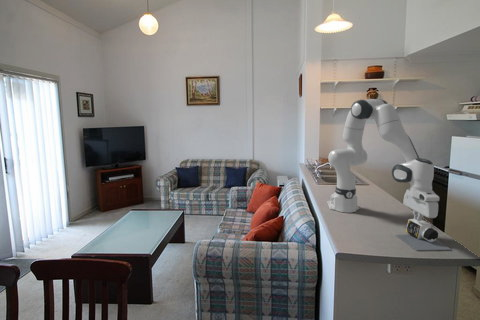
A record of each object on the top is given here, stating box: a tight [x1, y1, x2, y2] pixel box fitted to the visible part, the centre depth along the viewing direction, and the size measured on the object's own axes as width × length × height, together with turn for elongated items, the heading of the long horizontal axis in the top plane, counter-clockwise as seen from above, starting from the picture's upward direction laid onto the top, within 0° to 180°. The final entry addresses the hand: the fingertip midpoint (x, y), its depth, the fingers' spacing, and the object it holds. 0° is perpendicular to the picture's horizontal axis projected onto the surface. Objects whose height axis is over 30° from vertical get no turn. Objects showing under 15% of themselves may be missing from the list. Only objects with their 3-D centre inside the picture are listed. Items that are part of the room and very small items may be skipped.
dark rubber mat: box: [395, 234, 452, 252], centre depth 134 cm, size 16×16×1 cm
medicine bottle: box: [405, 218, 439, 242], centre depth 137 cm, size 7×7×12 cm
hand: (417, 220), depth 137 cm, fingers closed
